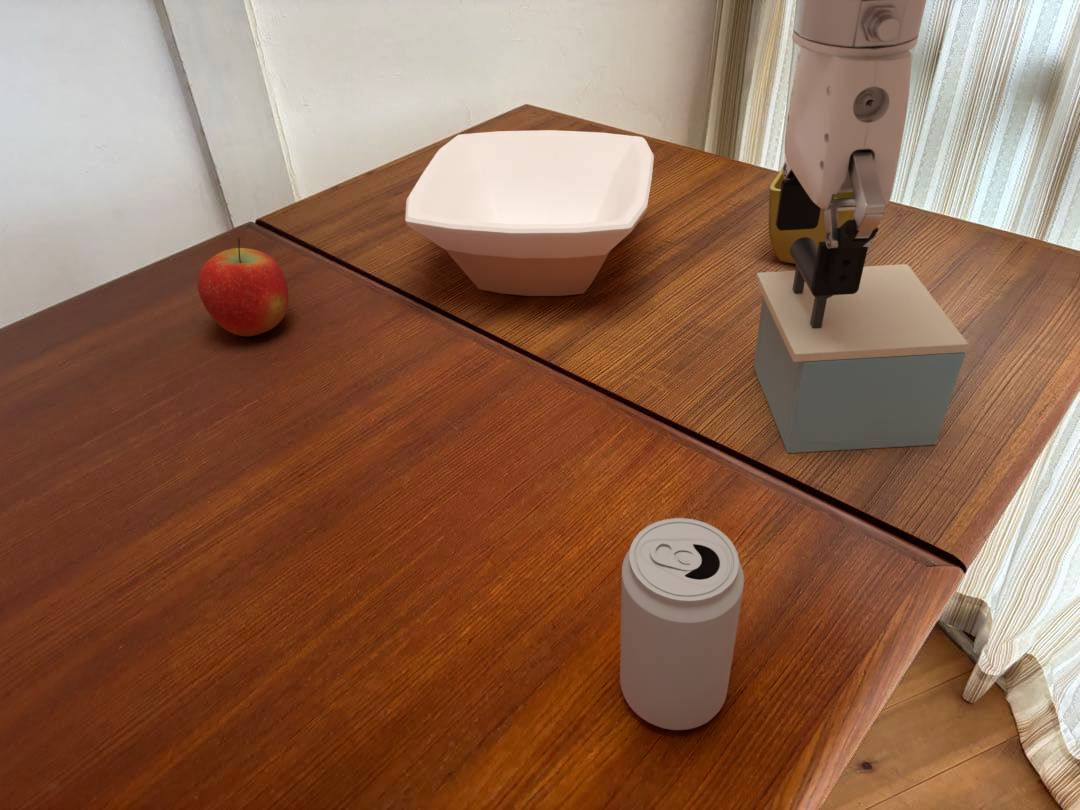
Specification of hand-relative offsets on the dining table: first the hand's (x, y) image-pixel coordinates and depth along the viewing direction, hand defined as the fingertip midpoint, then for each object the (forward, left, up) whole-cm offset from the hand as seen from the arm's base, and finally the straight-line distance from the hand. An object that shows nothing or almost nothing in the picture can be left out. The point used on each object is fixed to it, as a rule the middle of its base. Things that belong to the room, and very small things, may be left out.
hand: (813, 258), depth 63 cm
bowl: (+33, +1, -14) cm, 36 cm away
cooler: (-3, -3, -14) cm, 15 cm away
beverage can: (-13, +27, -14) cm, 33 cm away
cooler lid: (-2, -3, -5) cm, 6 cm away
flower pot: (+15, -22, -14) cm, 30 cm away
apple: (+42, +30, -14) cm, 54 cm away
